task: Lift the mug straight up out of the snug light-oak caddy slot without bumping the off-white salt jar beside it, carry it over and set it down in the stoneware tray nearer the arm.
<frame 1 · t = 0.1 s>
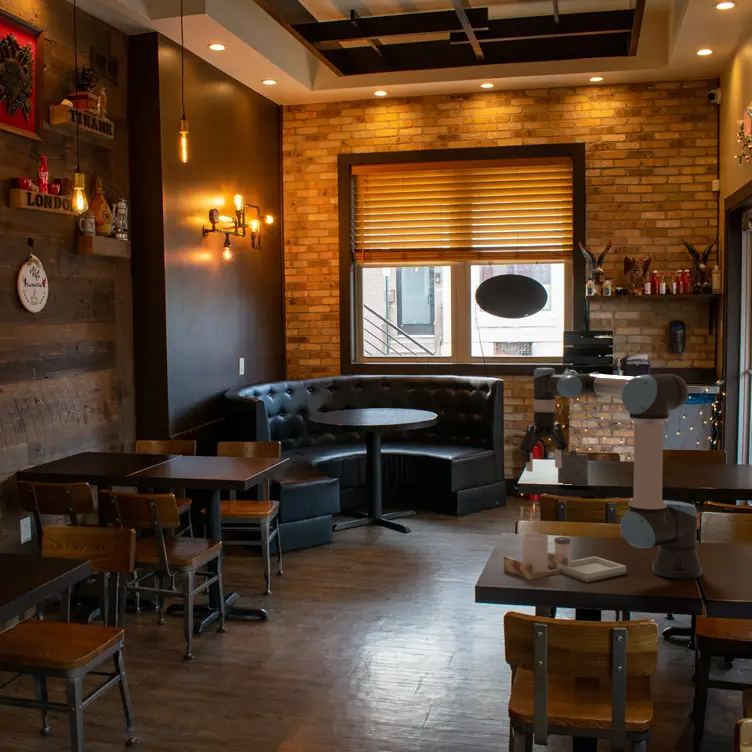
hand: (544, 469, 325), 28 cm above the table, fingers open, 13 cm apart
flask: (572, 486, 440), on the table
salt jar: (562, 565, 300), on the table
tray: (591, 572, 292), on the table
oak caddy: (535, 570, 295), on the table
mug: (535, 571, 295), resting in oak caddy
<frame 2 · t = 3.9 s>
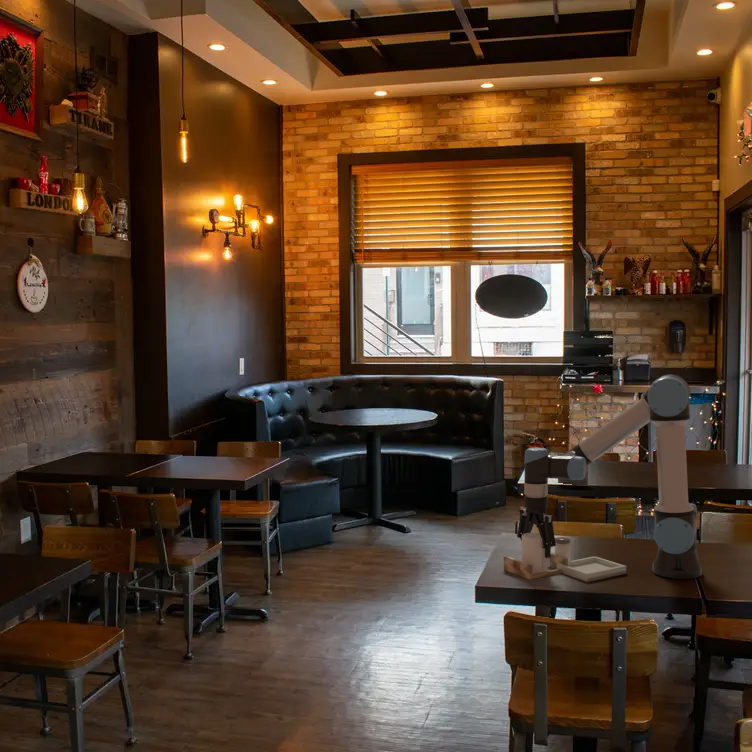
hand: (535, 563, 294), 2 cm above the table, fingers closed on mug, 9 cm apart
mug: (535, 571, 295), resting in oak caddy, touching gripper
everything else where it was.
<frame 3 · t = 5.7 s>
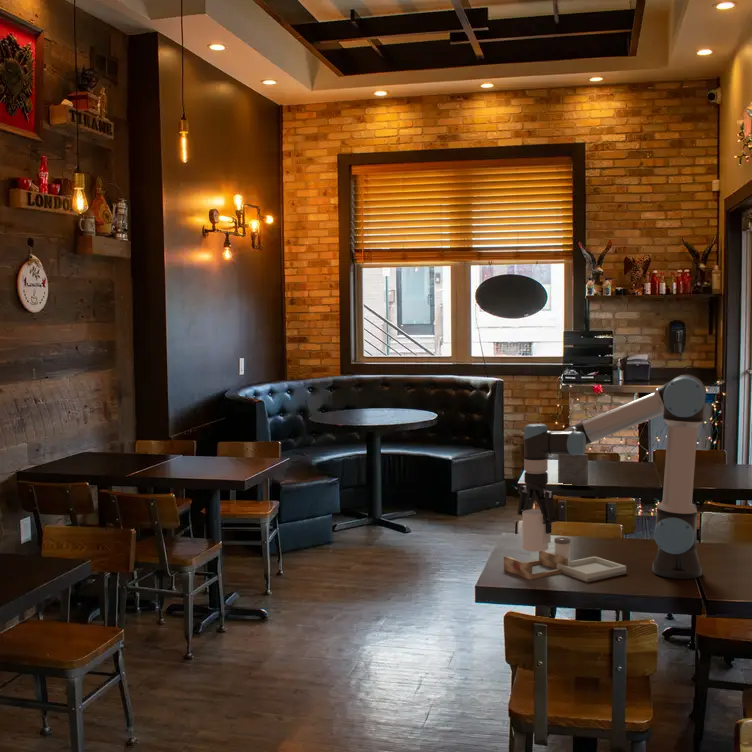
hand: (536, 540, 294), 10 cm above the table, fingers closed on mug, 9 cm apart
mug: (536, 547, 295), point 8 cm above the table, touching gripper
everything else where it was.
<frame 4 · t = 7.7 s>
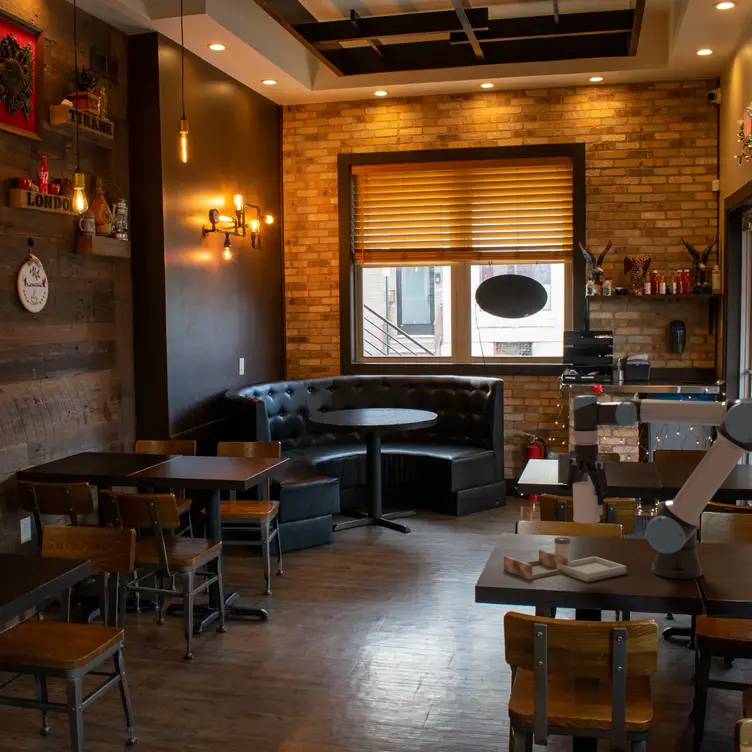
hand: (587, 512, 291), 20 cm above the table, fingers closed on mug, 9 cm apart
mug: (587, 520, 292), point 17 cm above the table, touching gripper
everything else where it was.
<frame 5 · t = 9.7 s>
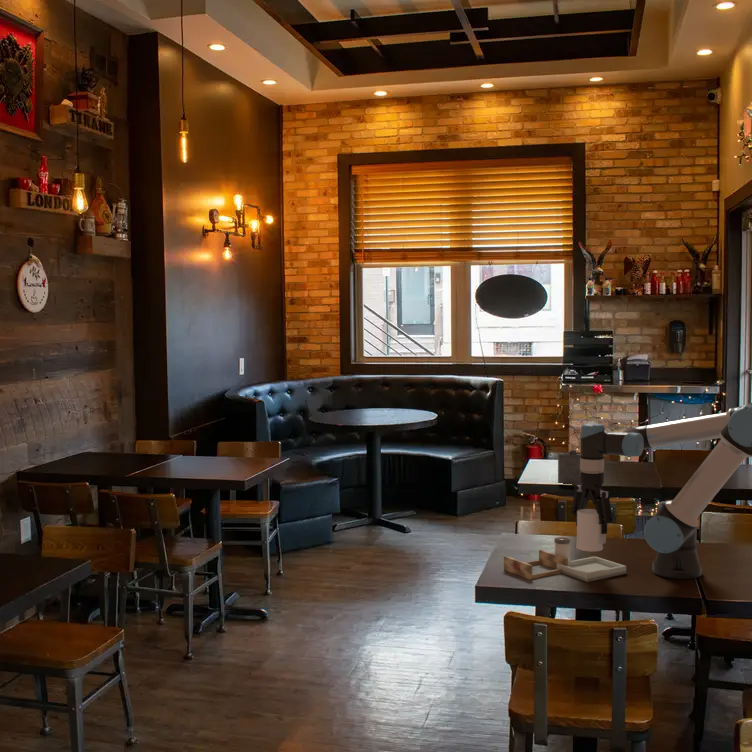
hand: (591, 540, 292), 11 cm above the table, fingers closed on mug, 9 cm apart
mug: (590, 547, 292), point 8 cm above the table, touching gripper
everything else where it was.
when the fingers open (5 cm above the table, at t = 11.3 s): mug drops 1 cm, resting on tray.
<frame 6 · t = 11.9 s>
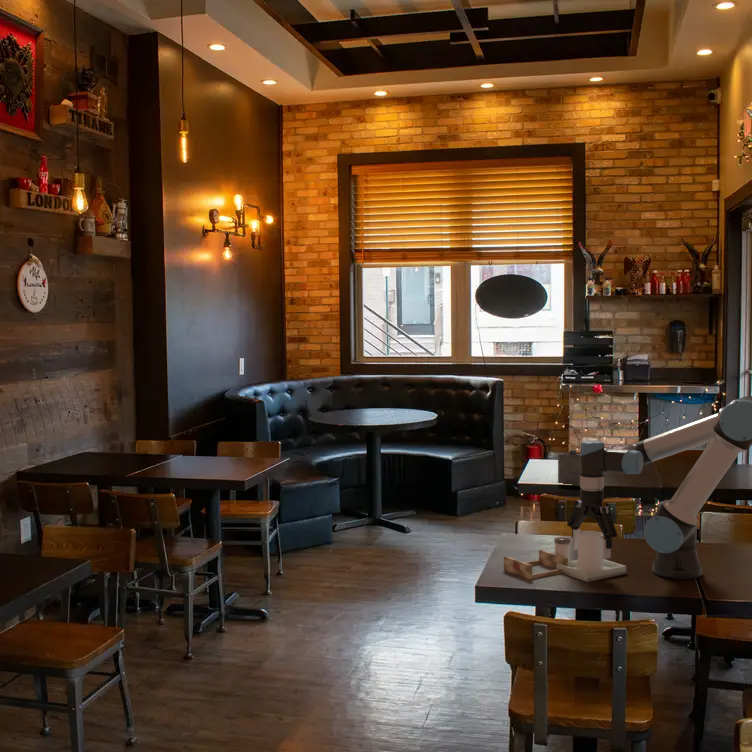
hand: (591, 553, 292), 6 cm above the table, fingers open, 13 cm apart
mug: (590, 569, 293), point 1 cm above the table, touching tray
everything else where it was.
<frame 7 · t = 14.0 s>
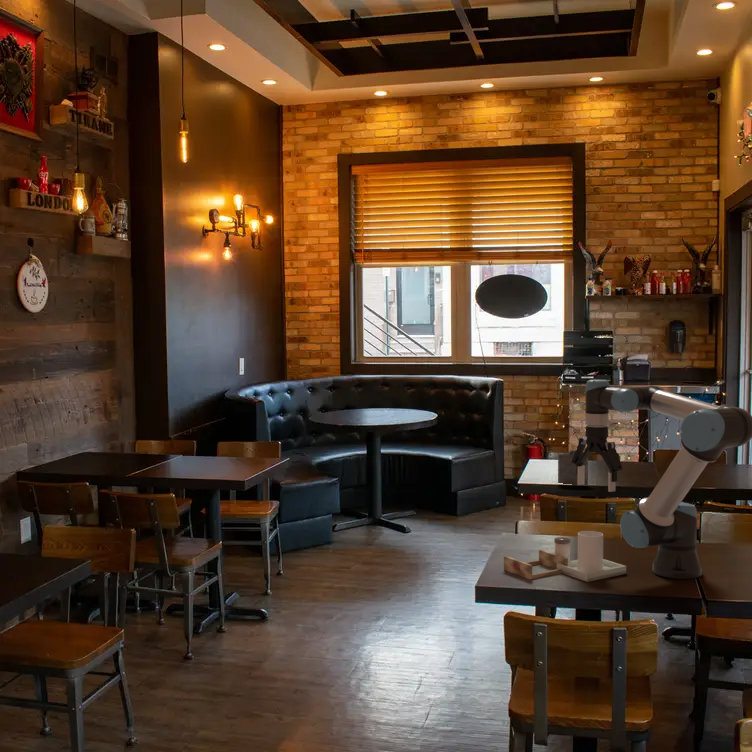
hand: (596, 488, 304), 25 cm above the table, fingers open, 13 cm apart
nothing on the table moved.
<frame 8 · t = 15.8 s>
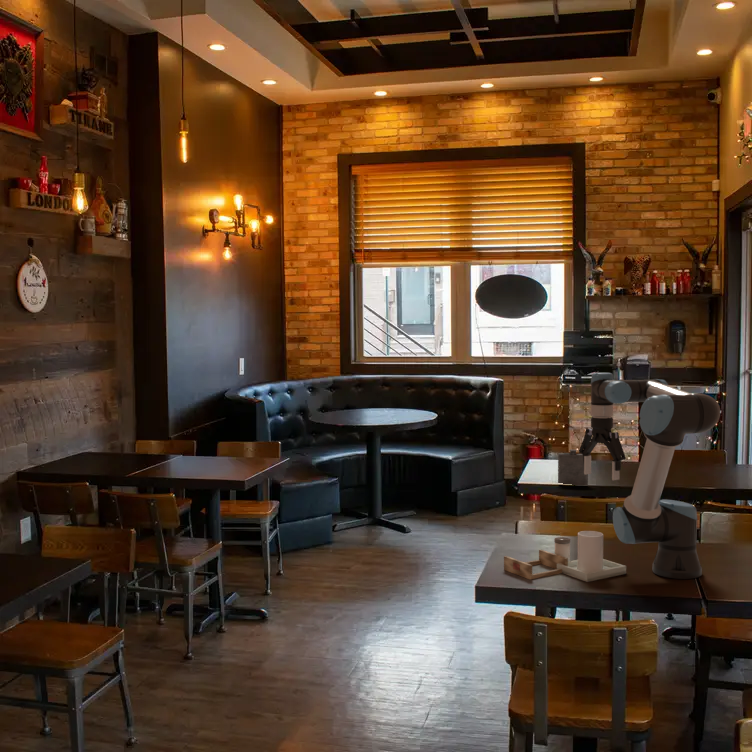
hand: (601, 477, 316), 27 cm above the table, fingers open, 13 cm apart
nothing on the table moved.
at the end: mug inside the target area on the tray (0.7 cm from its centre), point 0.8 cm above the tray's base; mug tilted 0°; the gripper is holding nothing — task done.
